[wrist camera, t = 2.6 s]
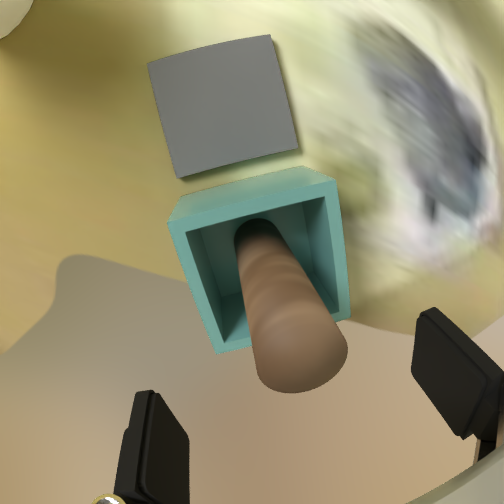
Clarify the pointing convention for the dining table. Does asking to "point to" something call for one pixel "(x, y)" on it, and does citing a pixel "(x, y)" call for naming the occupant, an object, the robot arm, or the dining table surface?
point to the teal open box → (289, 225)
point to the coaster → (222, 104)
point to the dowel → (285, 313)
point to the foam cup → (12, 14)
